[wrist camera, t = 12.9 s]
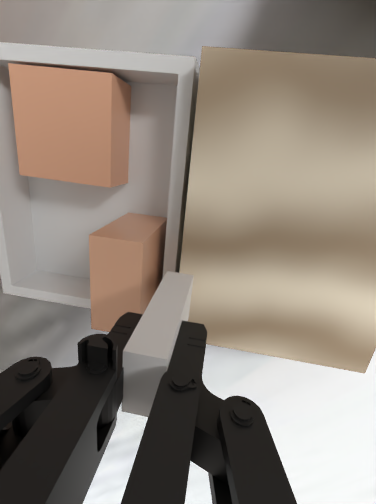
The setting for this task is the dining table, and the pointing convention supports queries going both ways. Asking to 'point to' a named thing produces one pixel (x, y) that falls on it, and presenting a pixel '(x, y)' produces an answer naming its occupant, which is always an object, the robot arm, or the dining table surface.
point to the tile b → (125, 267)
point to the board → (284, 205)
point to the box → (89, 196)
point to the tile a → (71, 124)
